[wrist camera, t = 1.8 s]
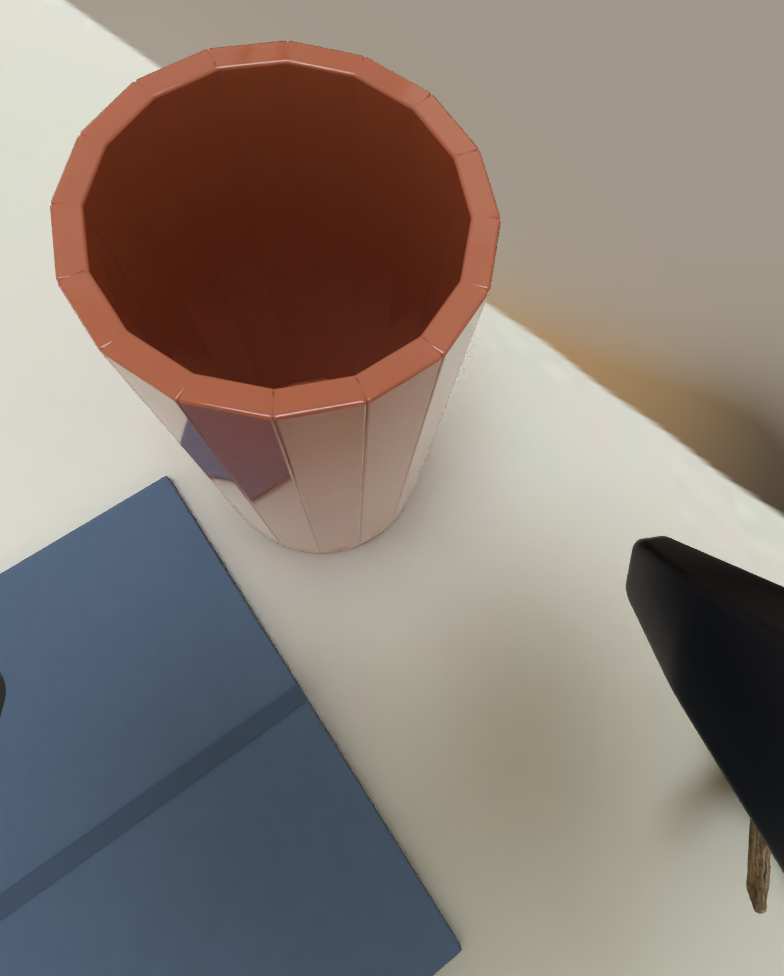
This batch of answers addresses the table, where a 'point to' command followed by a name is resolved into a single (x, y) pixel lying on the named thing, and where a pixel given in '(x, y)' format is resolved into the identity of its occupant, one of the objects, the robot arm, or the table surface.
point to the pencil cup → (283, 274)
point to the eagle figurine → (758, 870)
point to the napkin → (179, 779)
